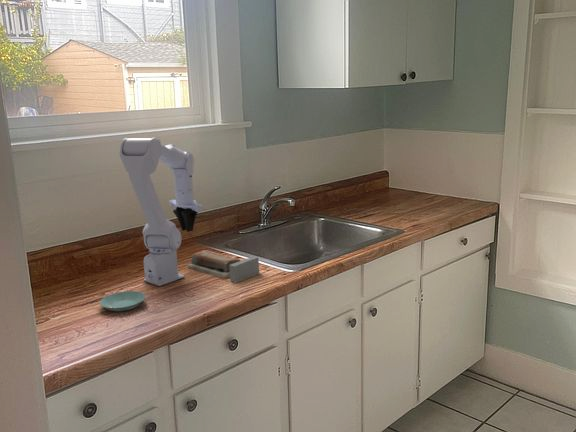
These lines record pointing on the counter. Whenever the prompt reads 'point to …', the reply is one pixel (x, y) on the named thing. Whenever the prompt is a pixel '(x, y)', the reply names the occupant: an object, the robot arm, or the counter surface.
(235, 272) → the board
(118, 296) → the saucer
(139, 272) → the counter surface
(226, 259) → the packaged product
